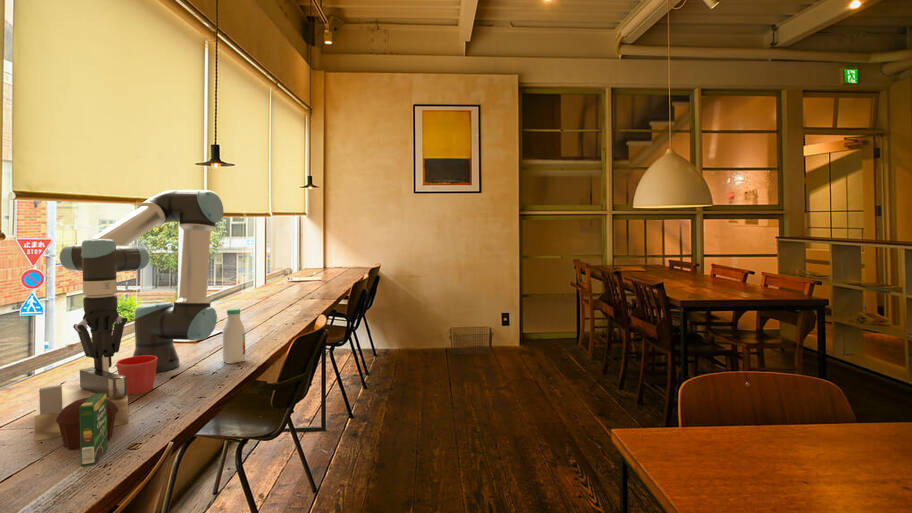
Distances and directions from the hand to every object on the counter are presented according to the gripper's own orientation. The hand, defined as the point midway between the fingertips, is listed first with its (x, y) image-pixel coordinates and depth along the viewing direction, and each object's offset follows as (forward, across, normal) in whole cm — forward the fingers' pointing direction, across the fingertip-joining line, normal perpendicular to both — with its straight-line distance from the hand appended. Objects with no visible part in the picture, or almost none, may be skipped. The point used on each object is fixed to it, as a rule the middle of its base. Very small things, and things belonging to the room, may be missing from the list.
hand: (103, 380), depth 132 cm
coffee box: (+9, -19, -28) cm, 35 cm away
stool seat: (+8, -6, -1) cm, 10 cm away
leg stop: (+2, -16, -8) cm, 18 cm away
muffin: (+8, -15, -18) cm, 25 cm away
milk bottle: (+8, +51, +7) cm, 52 cm away
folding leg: (+2, -3, -5) cm, 6 cm away
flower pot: (+8, +14, +7) cm, 17 cm away
